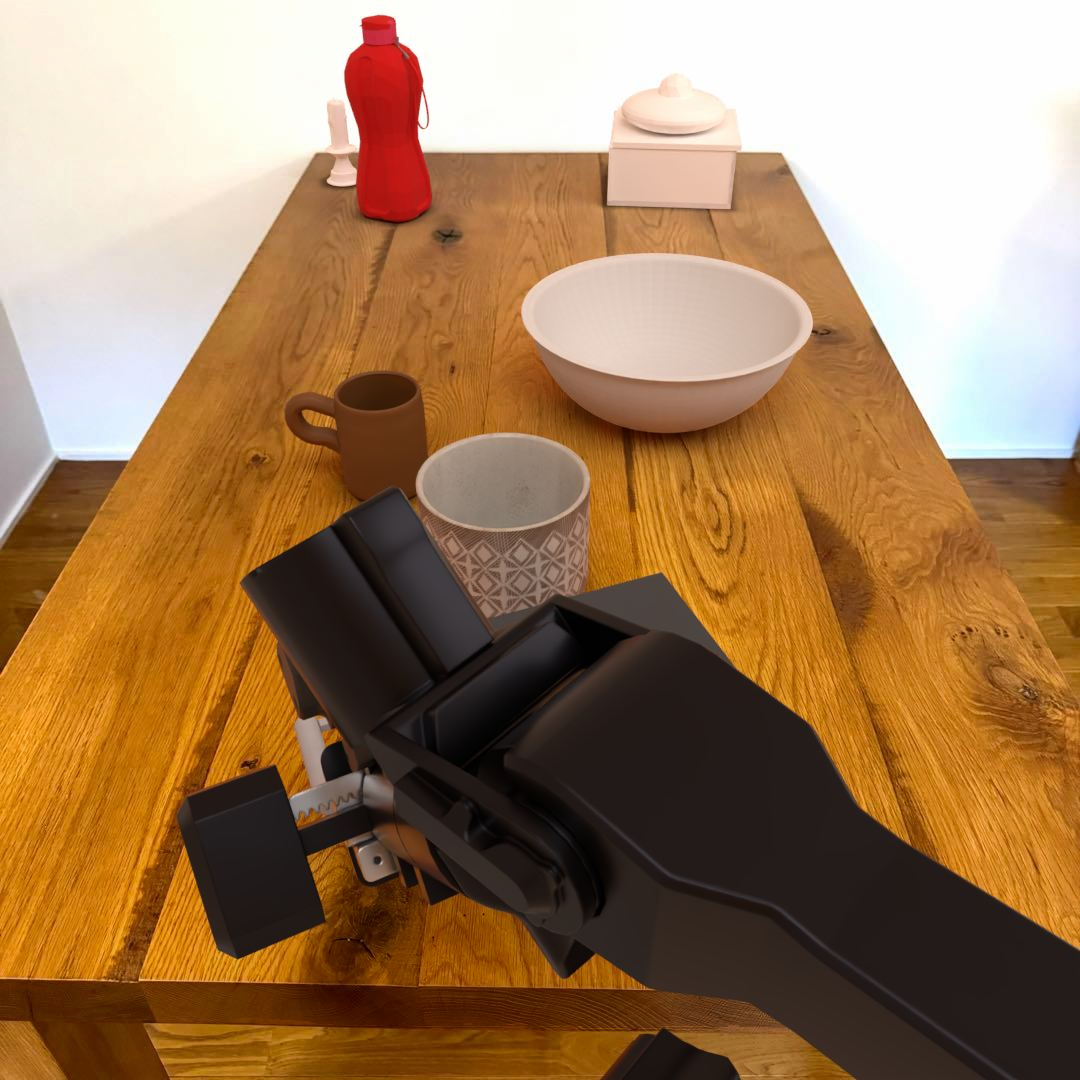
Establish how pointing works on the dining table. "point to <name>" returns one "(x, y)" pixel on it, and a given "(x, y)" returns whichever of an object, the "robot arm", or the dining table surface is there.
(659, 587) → the dark grey cabinet
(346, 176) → the candle
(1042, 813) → the dining table surface
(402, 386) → the mug
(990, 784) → the dining table surface
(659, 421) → the bowl
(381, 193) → the water bottle
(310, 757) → the drawer
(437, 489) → the planter
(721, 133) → the pink lidded box
